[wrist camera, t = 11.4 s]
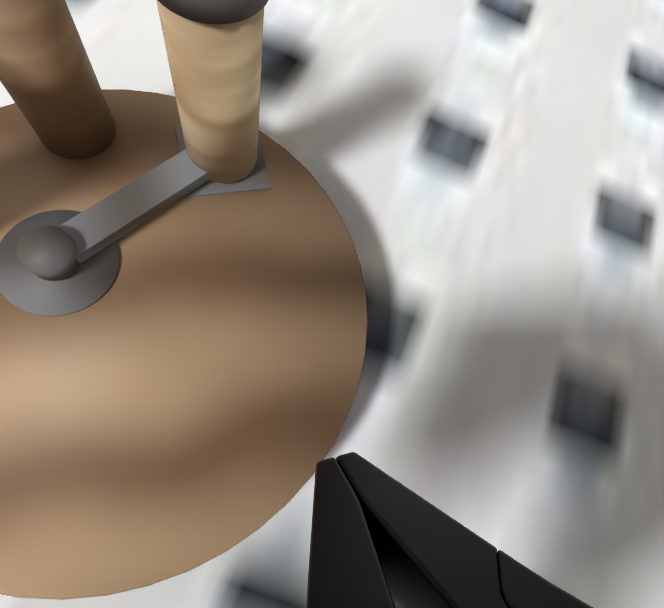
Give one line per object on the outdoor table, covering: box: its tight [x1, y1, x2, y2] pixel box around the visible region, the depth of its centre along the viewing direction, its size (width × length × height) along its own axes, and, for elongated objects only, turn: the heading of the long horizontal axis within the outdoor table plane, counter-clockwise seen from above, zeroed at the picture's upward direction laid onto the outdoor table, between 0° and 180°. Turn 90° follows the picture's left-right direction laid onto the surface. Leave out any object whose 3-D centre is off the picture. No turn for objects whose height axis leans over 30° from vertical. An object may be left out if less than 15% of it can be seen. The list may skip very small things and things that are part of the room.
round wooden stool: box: [0, 0, 367, 600], centre depth 14 cm, size 20×20×11 cm
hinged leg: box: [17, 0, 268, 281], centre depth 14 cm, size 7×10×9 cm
